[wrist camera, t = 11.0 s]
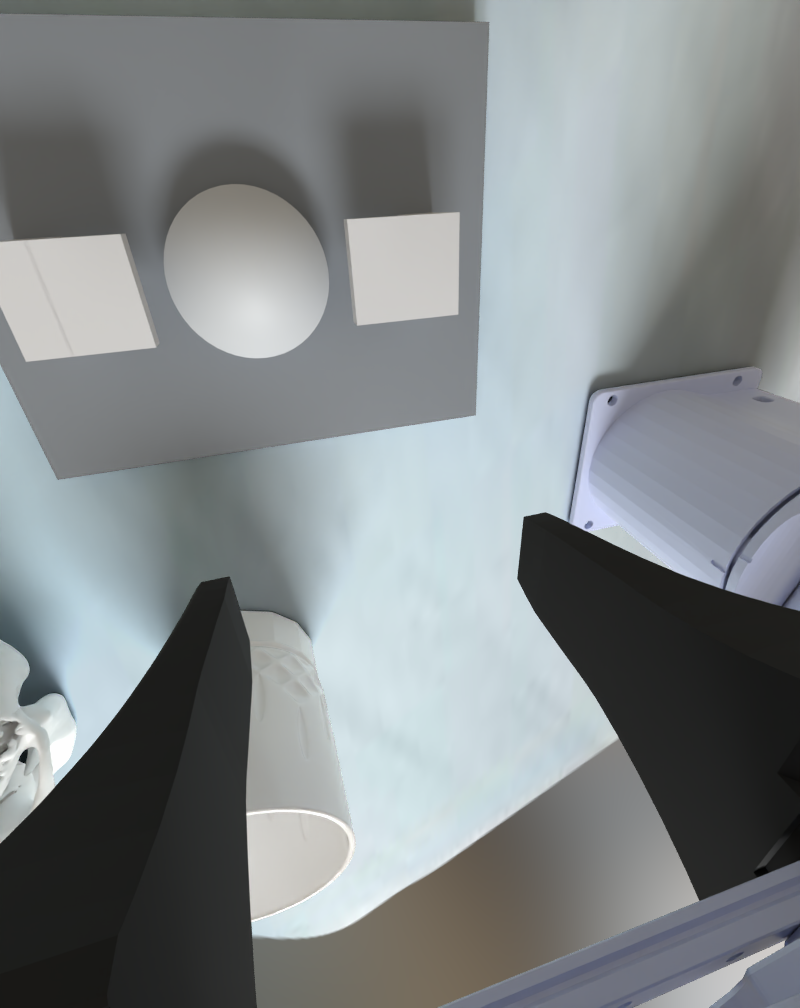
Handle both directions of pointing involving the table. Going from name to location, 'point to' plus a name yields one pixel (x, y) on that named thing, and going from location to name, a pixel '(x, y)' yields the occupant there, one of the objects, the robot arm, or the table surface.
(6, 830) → the skull bowl
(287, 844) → the white cup
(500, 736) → the table surface
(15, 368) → the post base
